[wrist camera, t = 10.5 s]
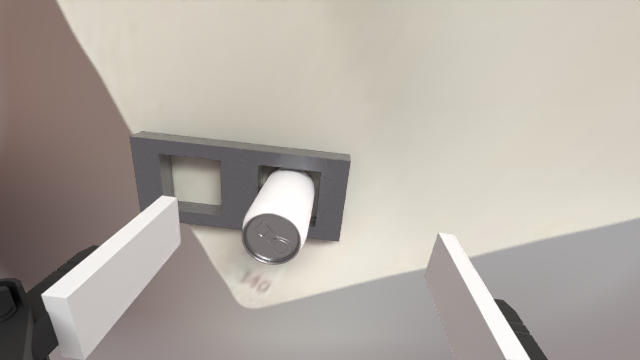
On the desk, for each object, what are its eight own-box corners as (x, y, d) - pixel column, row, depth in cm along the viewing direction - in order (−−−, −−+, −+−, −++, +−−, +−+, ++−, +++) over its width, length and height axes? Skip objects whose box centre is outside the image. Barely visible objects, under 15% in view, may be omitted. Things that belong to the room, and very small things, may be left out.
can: (291, 219, 41) (273, 279, 30) (256, 187, 39) (223, 237, 28) (325, 190, 39) (319, 242, 28) (289, 155, 38) (268, 195, 26)
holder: (142, 131, 37) (129, 136, 35) (349, 154, 37) (350, 161, 35) (152, 209, 42) (141, 218, 39) (338, 231, 41) (338, 241, 39)
